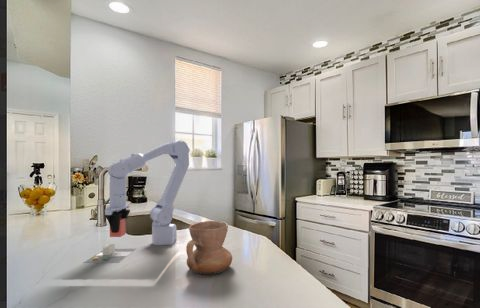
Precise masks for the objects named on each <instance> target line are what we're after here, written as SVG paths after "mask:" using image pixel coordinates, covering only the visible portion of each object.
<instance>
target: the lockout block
mask: <svg viewBox="0 0 480 308" xmlns="http://www.w3.org/2000/svg"><path fill="white" fill-rule="evenodd" d="M126 222H127V219H126V218H121V219H120V223H119V231H118V233H112V231H111V228H110V227H109V238H121V237H123V236H124V235H126Z"/></svg>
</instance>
